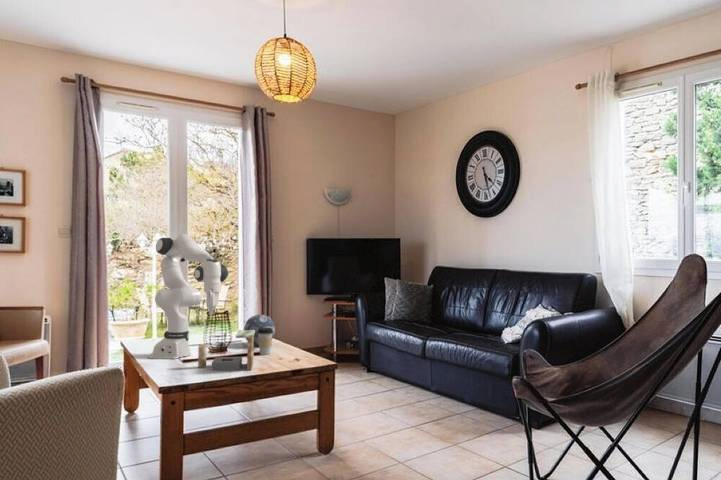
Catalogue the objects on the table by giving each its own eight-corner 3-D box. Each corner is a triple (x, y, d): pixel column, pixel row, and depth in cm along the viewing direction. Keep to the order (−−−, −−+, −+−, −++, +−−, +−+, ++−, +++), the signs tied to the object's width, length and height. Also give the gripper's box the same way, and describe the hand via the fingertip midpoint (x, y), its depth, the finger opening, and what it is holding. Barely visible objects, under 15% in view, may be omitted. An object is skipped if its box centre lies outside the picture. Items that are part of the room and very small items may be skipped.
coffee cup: (253, 355, 288) (254, 329, 288) (261, 351, 297) (262, 327, 297) (268, 356, 285) (268, 330, 285) (275, 353, 294) (276, 328, 294)
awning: (235, 371, 251) (235, 335, 252) (238, 363, 267) (239, 330, 267) (251, 370, 253) (252, 335, 253) (254, 363, 268) (254, 330, 269)
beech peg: (197, 368, 256) (197, 345, 256) (198, 366, 260) (199, 343, 260) (205, 368, 256) (205, 345, 256) (206, 366, 260) (207, 343, 260)
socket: (211, 370, 252) (211, 362, 252) (215, 364, 264) (215, 357, 264) (239, 369, 254) (239, 362, 254) (241, 364, 266) (242, 356, 266)
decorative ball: (281, 345, 318) (282, 314, 318) (258, 350, 301) (259, 317, 301) (259, 341, 329) (260, 311, 329) (236, 346, 312) (237, 314, 312)
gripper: (216, 289, 257) (215, 316, 256) (220, 287, 277) (220, 312, 276) (203, 290, 256) (203, 316, 255) (208, 287, 276) (208, 312, 275)
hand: (212, 314), depth 266 cm, fingers open, 8 cm apart
